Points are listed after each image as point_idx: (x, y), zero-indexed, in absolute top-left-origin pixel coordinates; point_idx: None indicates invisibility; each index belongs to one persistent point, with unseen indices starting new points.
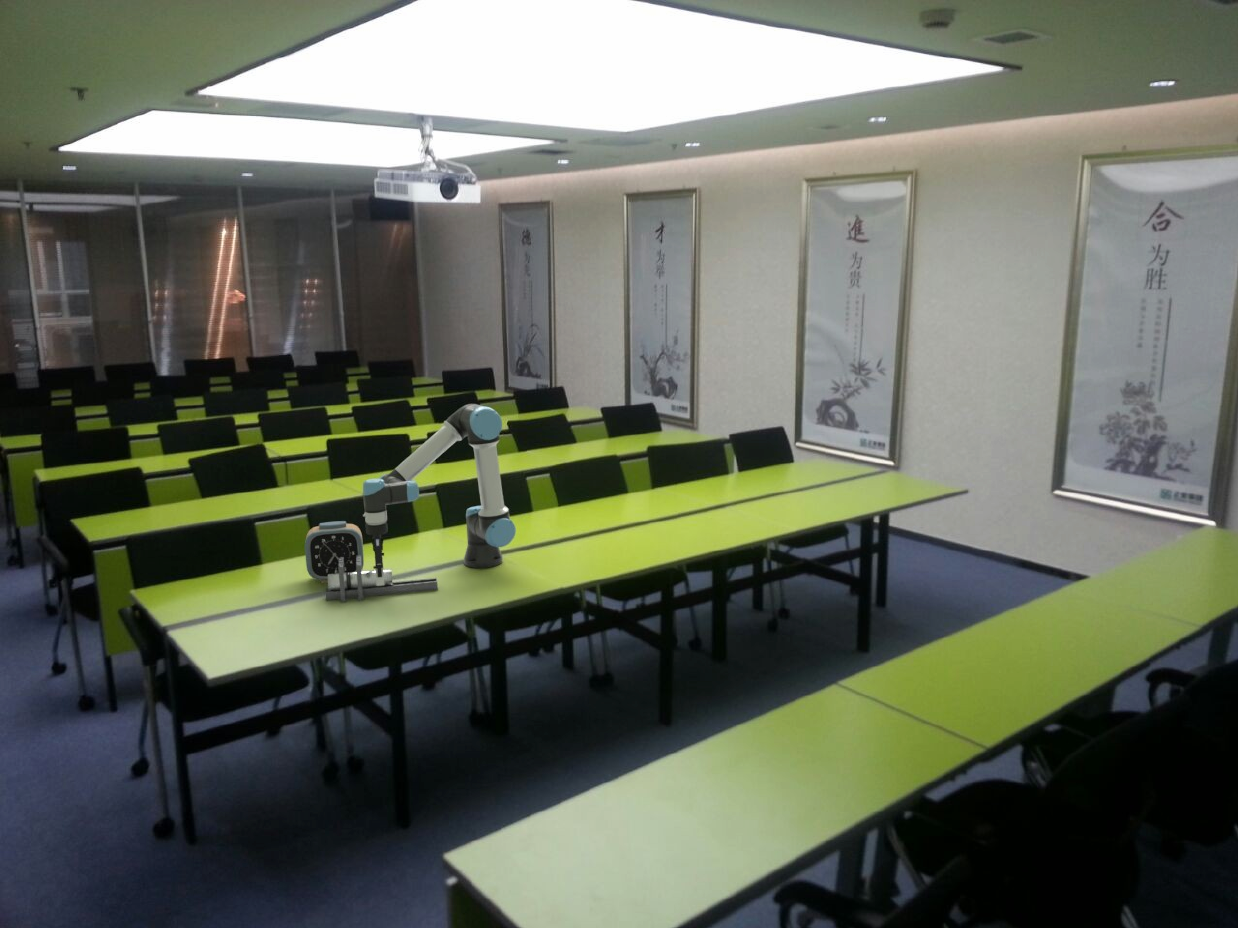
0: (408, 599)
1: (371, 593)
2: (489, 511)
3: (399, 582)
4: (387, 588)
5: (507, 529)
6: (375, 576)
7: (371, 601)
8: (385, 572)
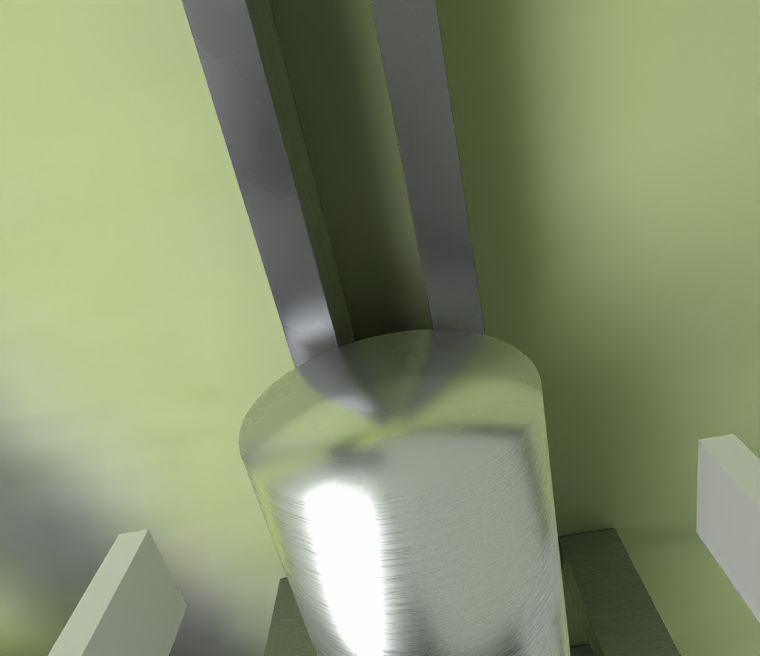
0: (749, 24)
1: None
2: None
3: (313, 249)
4: None
5: None
6: (562, 638)
7: (670, 455)
8: (513, 553)
